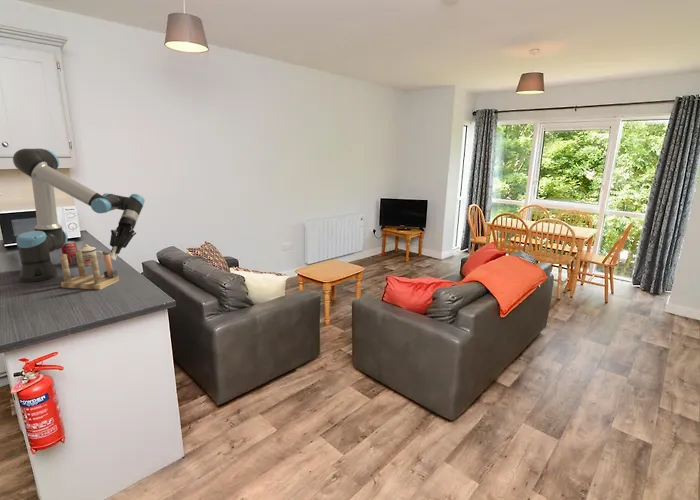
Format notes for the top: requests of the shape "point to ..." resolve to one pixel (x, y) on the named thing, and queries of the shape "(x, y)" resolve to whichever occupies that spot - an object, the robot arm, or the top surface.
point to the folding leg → (108, 263)
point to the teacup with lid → (89, 254)
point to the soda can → (70, 252)
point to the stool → (86, 279)
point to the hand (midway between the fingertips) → (112, 258)
